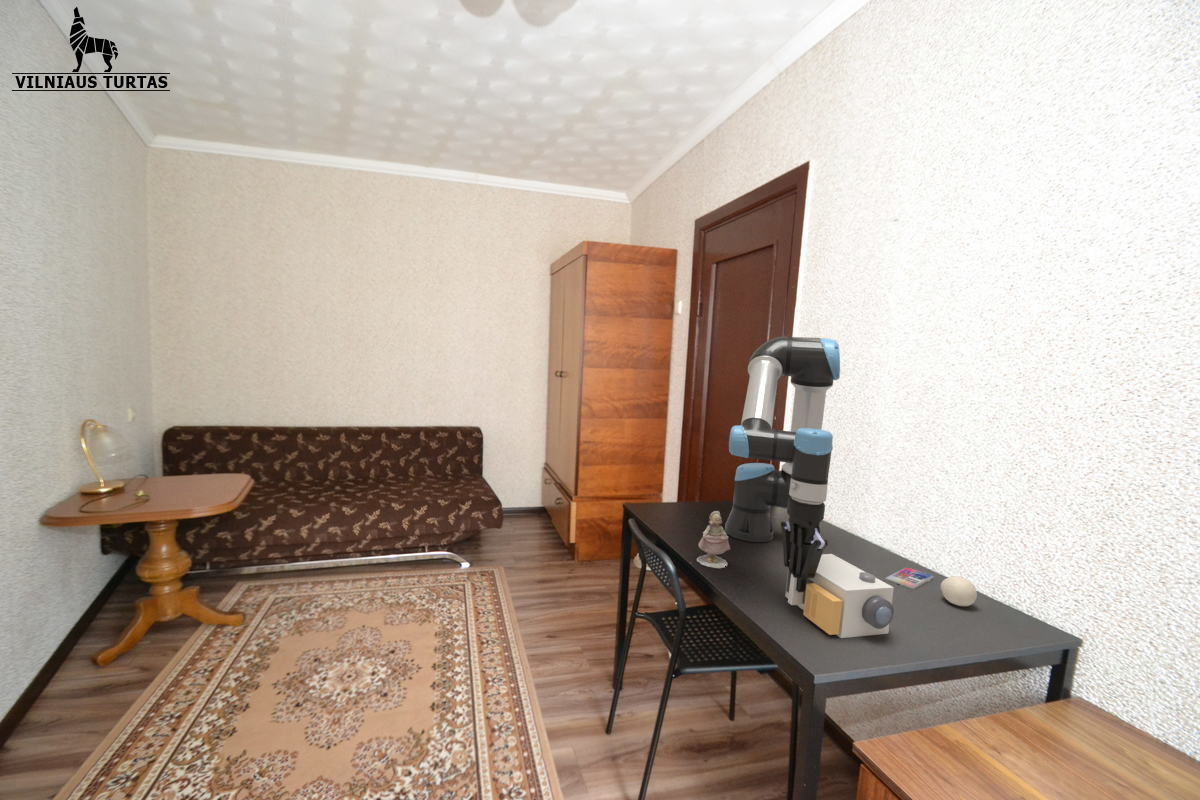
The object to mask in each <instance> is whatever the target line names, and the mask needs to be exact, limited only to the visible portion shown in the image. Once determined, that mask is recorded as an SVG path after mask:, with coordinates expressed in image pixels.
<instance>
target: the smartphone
mask: <svg viewBox="0 0 1200 800" xmlns="http://www.w3.org/2000/svg"><path fill="white" fill-rule="evenodd" d="M934 578H935V577H934V575H932V574H929V573H926V572H924V571H921V570H917V569H914V568H910V567H904V568H902V569H900V570H897V571H896V572H894V573H892V574H890V575H887V576H885V578H884V580H885V581H887V582H890V583H892V584H895V585H899V586H901V587H904V588H906V589H908V590H916V589H918V588H920V587H921V586H923V585H925V584H927V583H929V582H930V581H932V580H934Z"/></svg>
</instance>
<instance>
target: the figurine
mask: <svg viewBox="0 0 1200 800" xmlns="http://www.w3.org/2000/svg"><path fill="white" fill-rule="evenodd" d="M722 519H723V518H722V516H721V513H720V511H719V510H714V511H712V512H711V513H710V515H709V521H708V523H709V524H708V525H707V526H706V528H705V530H704V531H702V537H701V538H700V540H699V542H698V547H699V550H701V551H702V552H704V553H707V554H704V555H699V556H698V557H697V558H696V562H698V563H699V564H700V565H701V566H702V565H703V566H706V567H708V568H713V569H722V568H726V567H728V564H729V563H728V562H727V560H726V559H723V558H722V557H720V556H717V555H721V554H724V553H725V552H726V551H730V550H731V547H730V546H731V545H730V543H729V535H728V534H727V533H726V532H725V529H724V527H723V526H722V525H721V524H723V521H722ZM689 563H690V564H692V562H689ZM725 566H726V567H725Z"/></svg>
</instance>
